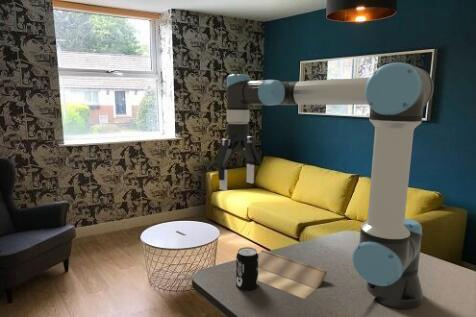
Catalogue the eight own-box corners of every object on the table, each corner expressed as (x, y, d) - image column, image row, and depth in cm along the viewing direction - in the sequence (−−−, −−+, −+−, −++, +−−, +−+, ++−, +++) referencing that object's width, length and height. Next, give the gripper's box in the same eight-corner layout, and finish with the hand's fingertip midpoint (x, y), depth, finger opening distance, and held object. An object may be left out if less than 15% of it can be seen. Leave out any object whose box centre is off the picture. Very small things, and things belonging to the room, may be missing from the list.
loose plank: (326, 273, 111) (326, 270, 110) (317, 291, 107) (316, 288, 106) (263, 252, 126) (262, 249, 125) (252, 267, 122) (251, 264, 121)
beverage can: (256, 295, 104) (256, 256, 102) (234, 293, 105) (234, 254, 104) (259, 284, 111) (260, 247, 109) (238, 282, 112) (238, 245, 110)
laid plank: (316, 292, 106) (316, 288, 106) (304, 302, 101) (304, 299, 100) (251, 268, 121) (251, 264, 121) (237, 276, 116) (237, 272, 115)
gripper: (253, 120, 129) (252, 178, 133) (201, 124, 111) (202, 190, 114) (269, 121, 124) (268, 181, 128) (219, 125, 106) (219, 195, 109)
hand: (237, 186), depth 121 cm, fingers open, 13 cm apart
